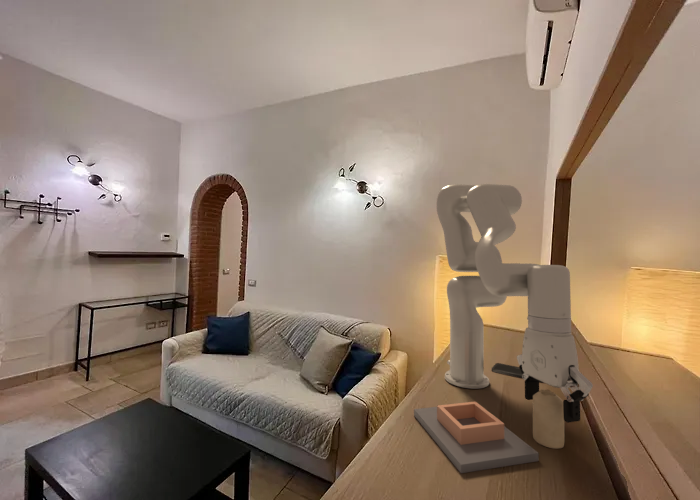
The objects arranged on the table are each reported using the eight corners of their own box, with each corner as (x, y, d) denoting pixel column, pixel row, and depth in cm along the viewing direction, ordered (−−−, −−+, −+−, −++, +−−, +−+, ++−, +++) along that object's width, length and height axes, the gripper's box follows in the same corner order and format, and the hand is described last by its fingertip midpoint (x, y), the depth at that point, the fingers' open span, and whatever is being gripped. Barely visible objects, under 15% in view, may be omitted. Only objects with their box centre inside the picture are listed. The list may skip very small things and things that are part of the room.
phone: (544, 380, 94) (490, 368, 103) (544, 384, 94) (490, 372, 103) (547, 372, 100) (496, 362, 109) (547, 376, 100) (496, 365, 109)
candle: (569, 450, 62) (569, 399, 62) (538, 447, 63) (538, 396, 63) (557, 434, 67) (557, 387, 67) (528, 431, 68) (528, 385, 68)
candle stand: (414, 415, 75) (414, 396, 75) (474, 408, 78) (474, 390, 78) (460, 473, 55) (460, 447, 55) (538, 461, 59) (538, 436, 59)
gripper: (504, 318, 73) (505, 393, 72) (571, 335, 56) (573, 434, 55) (532, 316, 74) (533, 390, 74) (605, 333, 57) (608, 429, 57)
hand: (550, 409), depth 64 cm, fingers open, 9 cm apart
